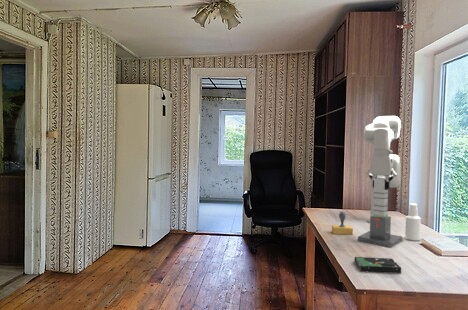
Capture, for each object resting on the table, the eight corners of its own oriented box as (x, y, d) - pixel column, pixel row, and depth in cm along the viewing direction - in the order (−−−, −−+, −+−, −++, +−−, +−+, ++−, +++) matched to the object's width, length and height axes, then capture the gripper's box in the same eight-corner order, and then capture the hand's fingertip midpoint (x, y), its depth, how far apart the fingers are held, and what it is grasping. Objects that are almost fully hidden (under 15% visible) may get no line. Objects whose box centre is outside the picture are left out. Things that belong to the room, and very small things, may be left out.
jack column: (377, 220, 168) (377, 177, 168) (387, 221, 165) (388, 178, 164) (373, 221, 165) (373, 178, 164) (383, 223, 161) (384, 178, 160)
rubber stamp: (333, 234, 176) (334, 212, 176) (331, 231, 182) (332, 210, 182) (352, 235, 175) (353, 212, 175) (350, 232, 181) (350, 210, 181)
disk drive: (391, 265, 133) (353, 262, 134) (391, 258, 133) (353, 256, 134) (401, 275, 122) (360, 272, 124) (401, 267, 122) (360, 265, 124)
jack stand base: (370, 234, 176) (370, 212, 176) (402, 240, 165) (402, 216, 165) (357, 240, 165) (358, 216, 164) (391, 247, 154) (392, 222, 153)
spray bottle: (418, 237, 170) (419, 203, 170) (421, 241, 164) (422, 205, 163) (404, 236, 173) (404, 202, 172) (406, 239, 166) (407, 204, 166)
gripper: (402, 153, 161) (401, 190, 161) (367, 152, 172) (366, 186, 173) (397, 153, 155) (396, 191, 156) (361, 152, 167) (361, 188, 167)
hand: (380, 188), depth 164 cm, fingers closed on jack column, 5 cm apart
